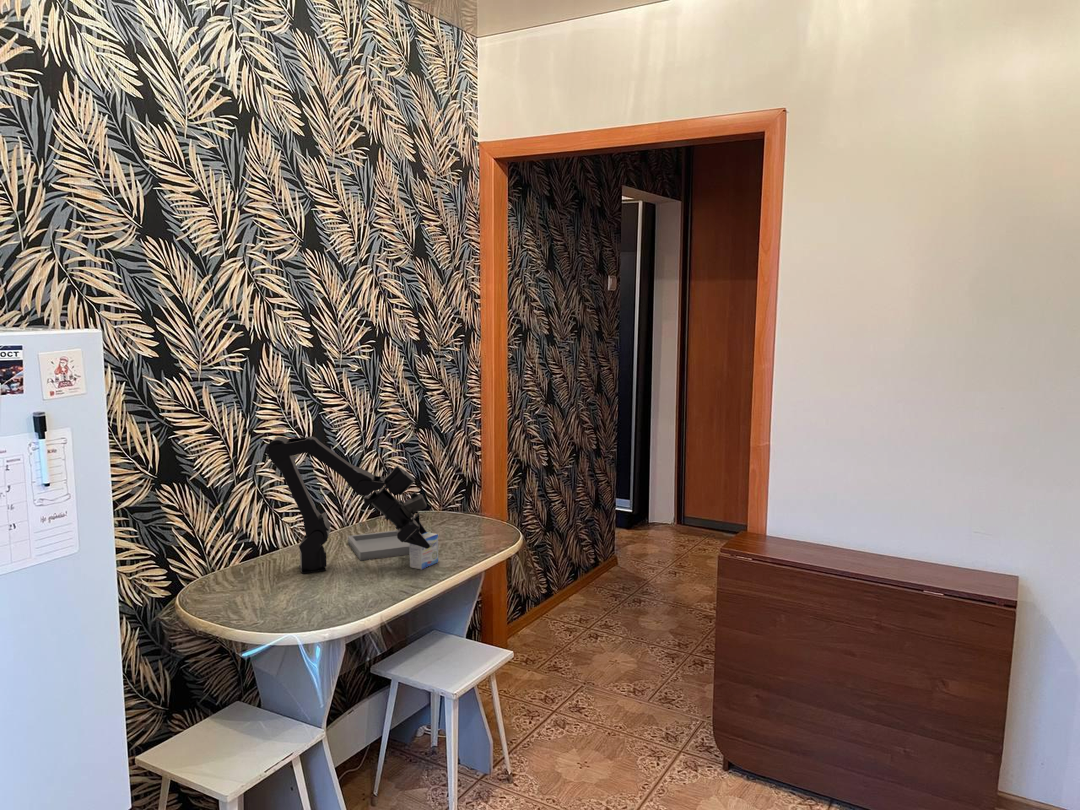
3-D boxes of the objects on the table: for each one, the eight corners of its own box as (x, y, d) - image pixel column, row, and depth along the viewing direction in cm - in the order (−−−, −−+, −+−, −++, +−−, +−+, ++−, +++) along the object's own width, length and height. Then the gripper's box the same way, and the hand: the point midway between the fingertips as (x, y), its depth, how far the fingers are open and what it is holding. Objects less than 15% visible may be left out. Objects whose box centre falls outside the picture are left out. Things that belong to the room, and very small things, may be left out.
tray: (360, 560, 221) (360, 552, 221) (347, 543, 237) (347, 535, 237) (432, 551, 231) (432, 543, 230) (415, 535, 247) (415, 528, 246)
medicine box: (421, 570, 214) (421, 540, 213) (409, 567, 216) (408, 538, 215) (438, 562, 220) (438, 533, 219) (426, 559, 223) (426, 531, 222)
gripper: (409, 494, 206) (449, 532, 209) (410, 479, 224) (447, 514, 227) (380, 523, 205) (421, 560, 208) (383, 505, 224) (421, 540, 227)
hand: (428, 542), depth 218 cm, fingers closed on medicine box, 8 cm apart
